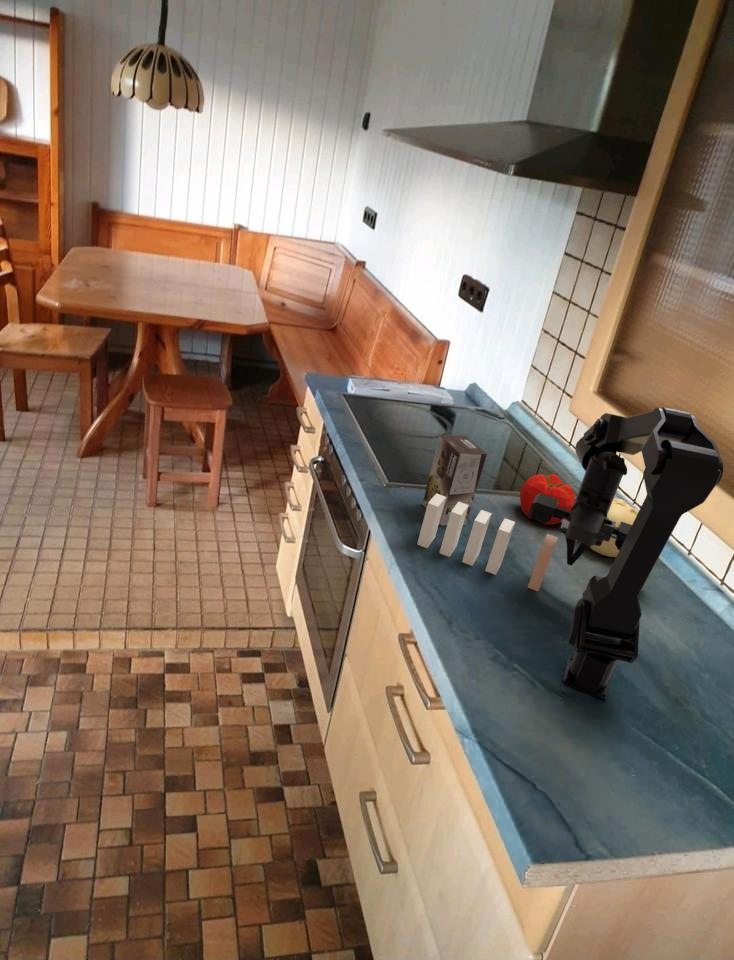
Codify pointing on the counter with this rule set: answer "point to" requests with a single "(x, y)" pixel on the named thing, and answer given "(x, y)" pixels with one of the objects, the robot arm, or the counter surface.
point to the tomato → (546, 493)
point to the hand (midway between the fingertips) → (569, 564)
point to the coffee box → (455, 473)
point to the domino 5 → (542, 562)
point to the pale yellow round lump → (616, 513)
